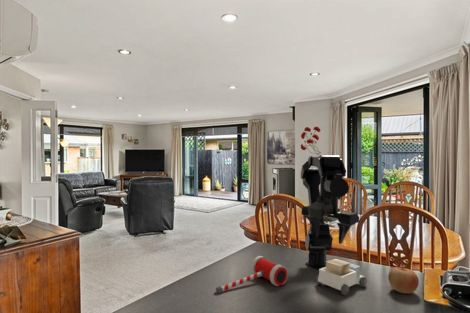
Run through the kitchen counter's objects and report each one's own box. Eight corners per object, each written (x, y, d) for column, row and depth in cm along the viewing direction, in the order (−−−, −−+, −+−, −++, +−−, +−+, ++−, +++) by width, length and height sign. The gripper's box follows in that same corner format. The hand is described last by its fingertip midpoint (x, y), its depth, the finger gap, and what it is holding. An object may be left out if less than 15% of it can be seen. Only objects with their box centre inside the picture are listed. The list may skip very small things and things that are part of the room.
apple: (381, 288, 94) (382, 262, 94) (399, 284, 97) (400, 259, 97) (405, 299, 87) (406, 271, 87) (424, 295, 90) (424, 268, 90)
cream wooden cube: (335, 273, 98) (335, 258, 98) (349, 279, 94) (349, 263, 94) (325, 277, 95) (326, 261, 95) (339, 283, 91) (340, 266, 91)
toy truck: (339, 275, 103) (339, 259, 103) (366, 285, 96) (367, 267, 96) (315, 285, 95) (315, 267, 95) (343, 296, 88) (343, 277, 88)
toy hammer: (228, 302, 84) (228, 279, 84) (207, 287, 94) (208, 266, 94) (288, 284, 97) (288, 264, 97) (265, 272, 106) (265, 254, 106)
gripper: (291, 191, 103) (290, 237, 103) (339, 198, 88) (338, 252, 88) (312, 189, 109) (311, 232, 109) (360, 195, 95) (359, 245, 95)
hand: (328, 240), depth 100 cm, fingers open, 9 cm apart
